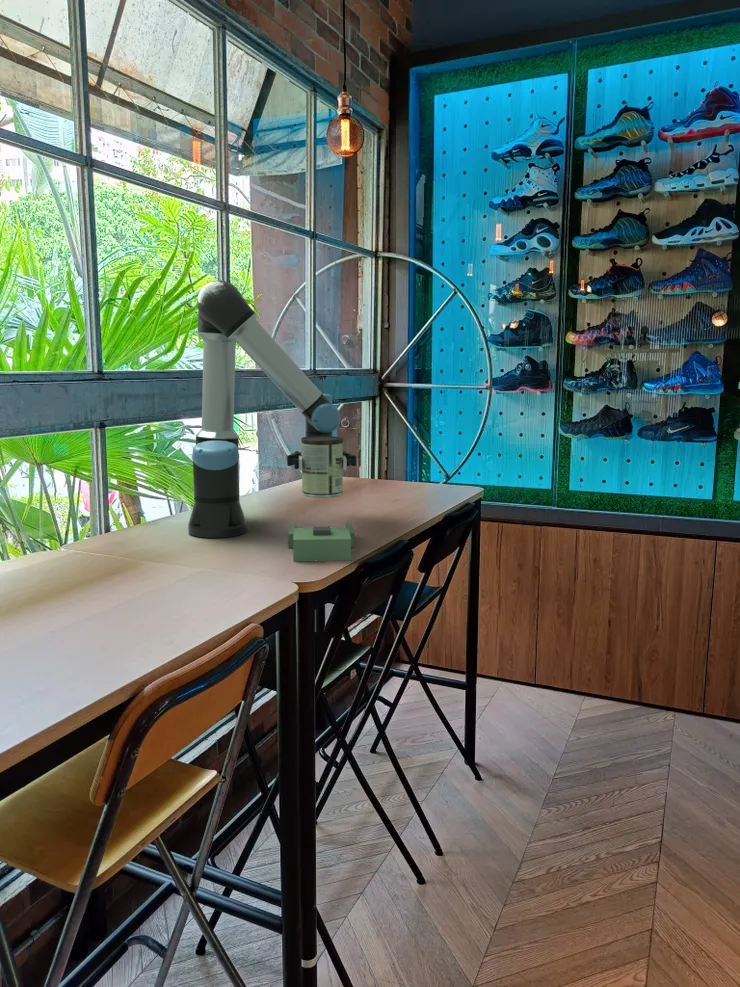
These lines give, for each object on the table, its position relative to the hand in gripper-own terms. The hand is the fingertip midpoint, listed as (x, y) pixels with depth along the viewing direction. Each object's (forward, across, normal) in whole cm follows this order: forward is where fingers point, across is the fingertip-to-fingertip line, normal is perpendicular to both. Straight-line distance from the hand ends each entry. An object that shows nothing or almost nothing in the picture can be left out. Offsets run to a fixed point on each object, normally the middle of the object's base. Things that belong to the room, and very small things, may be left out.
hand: (322, 464), depth 178 cm
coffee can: (-4, 0, -8) cm, 9 cm away
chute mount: (+3, 0, -20) cm, 20 cm away
